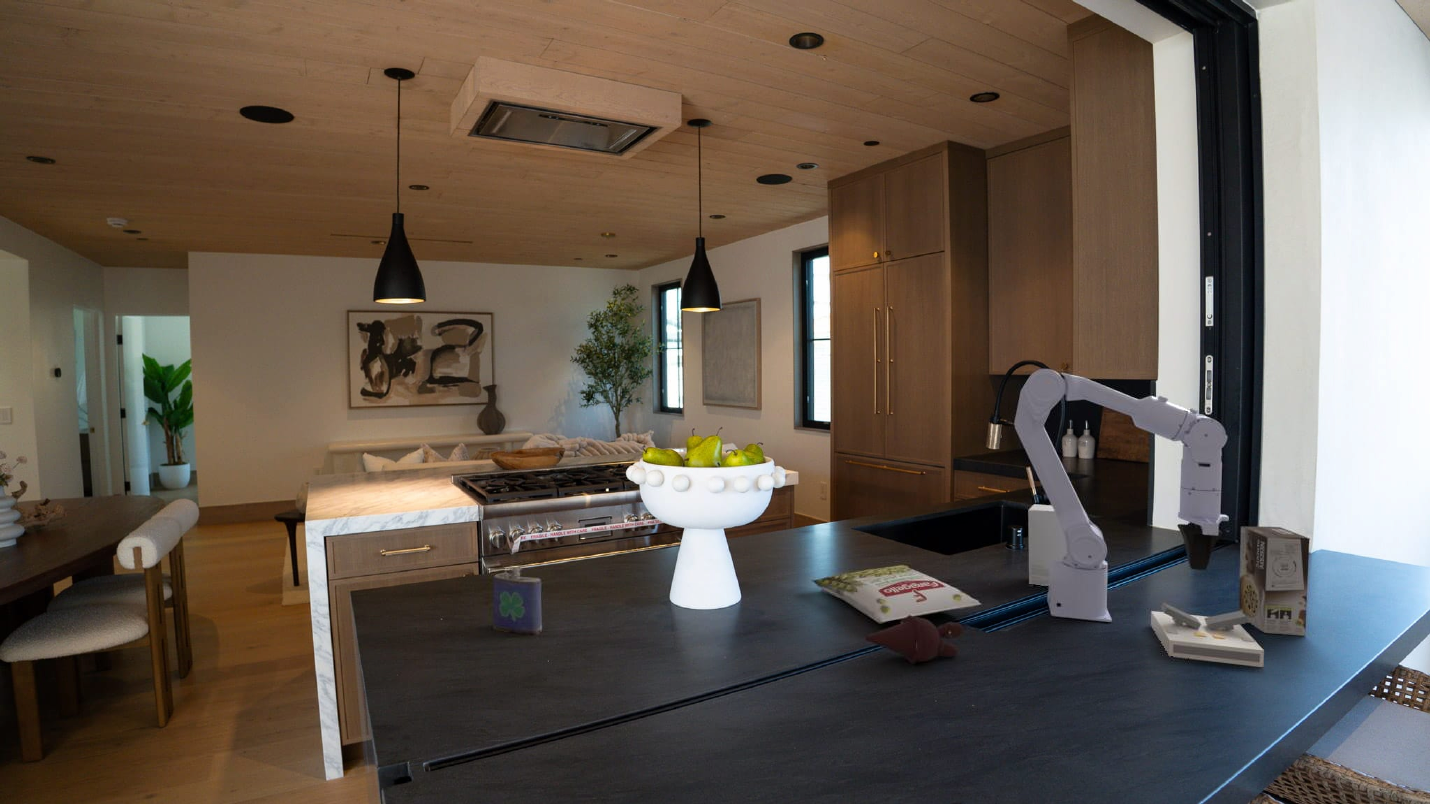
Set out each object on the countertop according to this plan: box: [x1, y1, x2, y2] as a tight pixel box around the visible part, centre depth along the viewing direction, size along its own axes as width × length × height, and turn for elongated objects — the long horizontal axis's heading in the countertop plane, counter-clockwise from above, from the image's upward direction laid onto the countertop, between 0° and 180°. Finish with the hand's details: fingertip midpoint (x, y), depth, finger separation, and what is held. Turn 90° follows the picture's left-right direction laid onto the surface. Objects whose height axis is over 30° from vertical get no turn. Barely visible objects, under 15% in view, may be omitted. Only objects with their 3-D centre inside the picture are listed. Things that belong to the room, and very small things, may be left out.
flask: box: [492, 566, 543, 636], centre depth 126 cm, size 9×3×11 cm, turn 68°
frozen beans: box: [810, 564, 982, 625], centre depth 138 cm, size 21×6×25 cm
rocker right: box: [1204, 610, 1250, 631], centre depth 118 cm, size 5×3×2 cm, turn 69°
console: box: [1150, 610, 1265, 668], centre depth 118 cm, size 12×14×3 cm
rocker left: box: [1160, 602, 1201, 629], centre depth 120 cm, size 5×3×2 cm, turn 70°
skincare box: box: [1027, 503, 1067, 587], centre depth 150 cm, size 8×7×16 cm
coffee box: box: [1238, 525, 1311, 637], centre depth 127 cm, size 9×6×16 cm
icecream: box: [864, 615, 965, 665], centre depth 112 cm, size 7×7×15 cm
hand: (1197, 568), depth 126 cm, fingers closed
